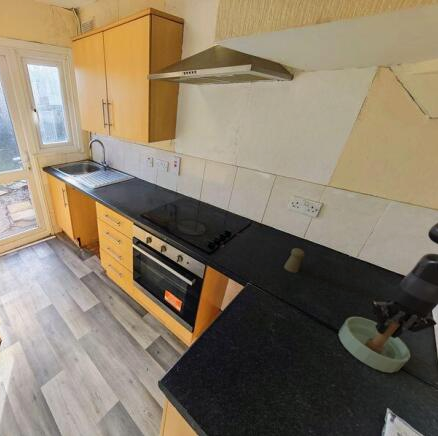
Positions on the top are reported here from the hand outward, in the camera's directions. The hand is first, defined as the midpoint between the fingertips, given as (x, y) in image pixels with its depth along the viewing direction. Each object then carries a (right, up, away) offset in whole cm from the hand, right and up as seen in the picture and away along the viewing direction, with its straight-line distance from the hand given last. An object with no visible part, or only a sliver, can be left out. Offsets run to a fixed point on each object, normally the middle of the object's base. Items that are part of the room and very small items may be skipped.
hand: (385, 333), depth 68 cm
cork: (-2, +10, +42) cm, 43 cm away
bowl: (0, -8, +6) cm, 10 cm away
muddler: (-1, -7, +4) cm, 8 cm away
